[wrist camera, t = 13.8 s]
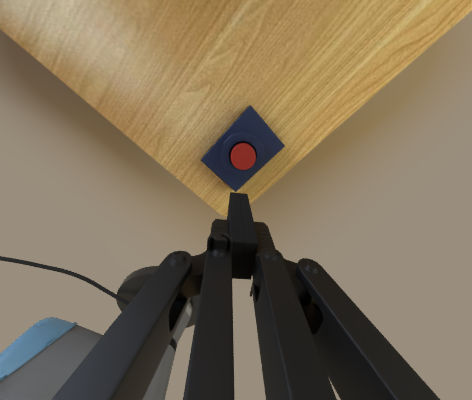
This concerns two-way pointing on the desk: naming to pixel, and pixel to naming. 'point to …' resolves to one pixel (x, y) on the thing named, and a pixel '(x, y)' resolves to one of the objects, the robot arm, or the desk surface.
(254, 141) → the button block
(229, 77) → the desk surface
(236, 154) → the red button
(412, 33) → the desk surface
